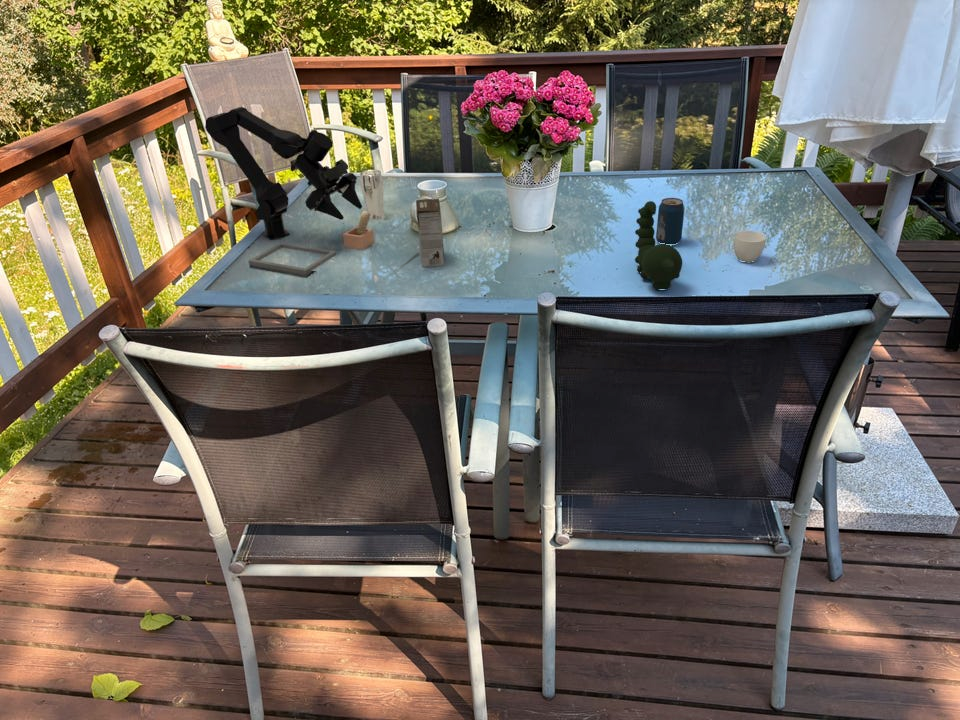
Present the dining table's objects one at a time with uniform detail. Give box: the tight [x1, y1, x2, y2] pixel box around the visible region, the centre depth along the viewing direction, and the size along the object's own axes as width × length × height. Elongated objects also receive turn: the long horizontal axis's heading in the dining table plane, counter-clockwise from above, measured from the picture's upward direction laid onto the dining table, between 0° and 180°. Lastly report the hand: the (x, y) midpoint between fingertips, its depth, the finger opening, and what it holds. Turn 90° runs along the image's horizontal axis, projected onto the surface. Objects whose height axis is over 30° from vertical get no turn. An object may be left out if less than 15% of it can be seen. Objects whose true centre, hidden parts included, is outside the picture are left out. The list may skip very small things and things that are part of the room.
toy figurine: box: [634, 200, 683, 290], centre depth 174 cm, size 9×19×25 cm
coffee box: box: [415, 198, 445, 268], centre depth 191 cm, size 9×6×16 cm
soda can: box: [655, 197, 685, 244], centre depth 195 cm, size 7×7×12 cm
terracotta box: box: [342, 226, 375, 251], centre depth 204 cm, size 6×6×5 cm
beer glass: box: [359, 169, 387, 221], centre depth 222 cm, size 7×7×15 cm
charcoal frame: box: [247, 241, 338, 278], centre depth 198 cm, size 20×14×2 cm
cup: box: [733, 230, 767, 262], centre depth 185 cm, size 8×10×7 cm
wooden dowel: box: [356, 210, 370, 236], centre depth 202 cm, size 6×2×11 cm, turn 64°
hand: (352, 213), depth 200 cm, fingers open, 9 cm apart
